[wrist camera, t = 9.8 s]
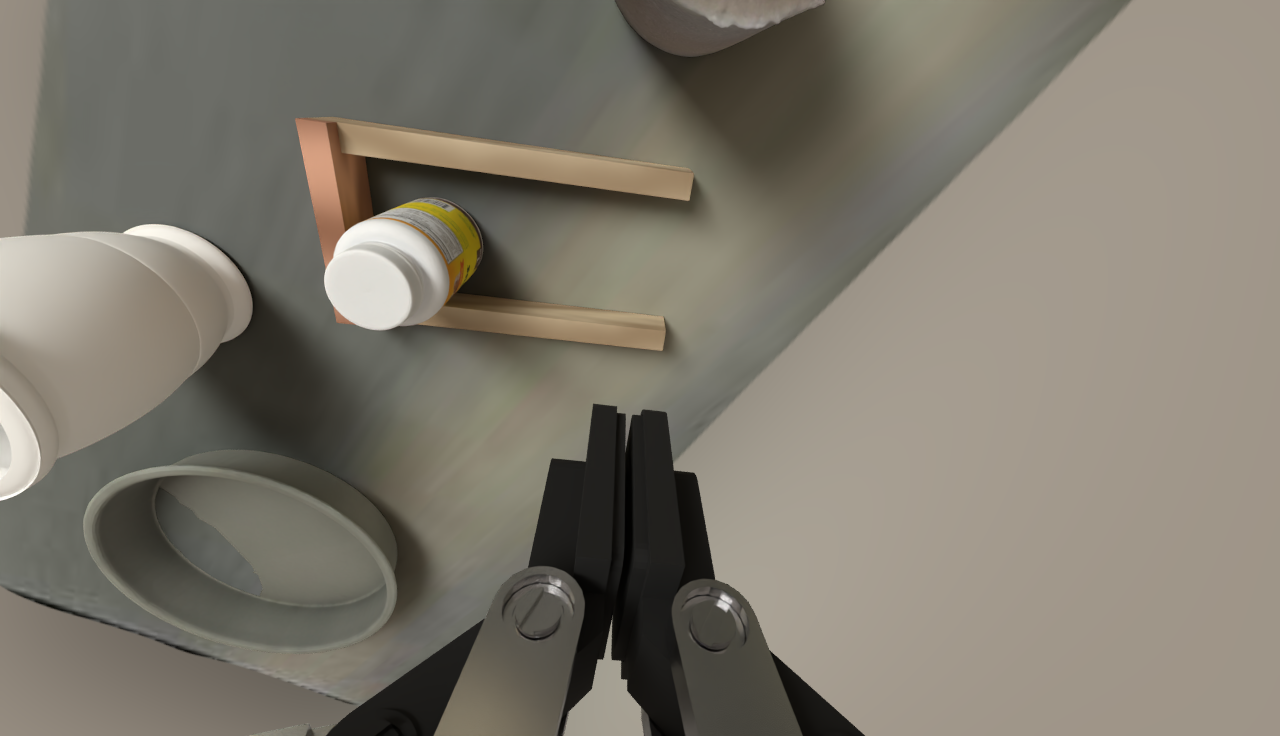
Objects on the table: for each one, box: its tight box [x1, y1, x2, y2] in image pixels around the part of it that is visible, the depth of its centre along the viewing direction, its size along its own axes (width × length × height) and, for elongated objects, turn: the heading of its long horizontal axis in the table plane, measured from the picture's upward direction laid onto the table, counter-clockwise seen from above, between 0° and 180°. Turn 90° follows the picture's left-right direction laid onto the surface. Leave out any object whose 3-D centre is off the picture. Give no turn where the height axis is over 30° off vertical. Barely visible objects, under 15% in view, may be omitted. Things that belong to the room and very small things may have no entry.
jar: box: [0, 224, 253, 500], centre depth 25 cm, size 11×10×15 cm
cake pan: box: [83, 450, 397, 654], centre depth 42 cm, size 25×25×4 cm
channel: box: [295, 117, 694, 351], centre depth 29 cm, size 12×21×4 cm, turn 82°
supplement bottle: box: [324, 197, 483, 330], centre depth 26 cm, size 6×6×10 cm
